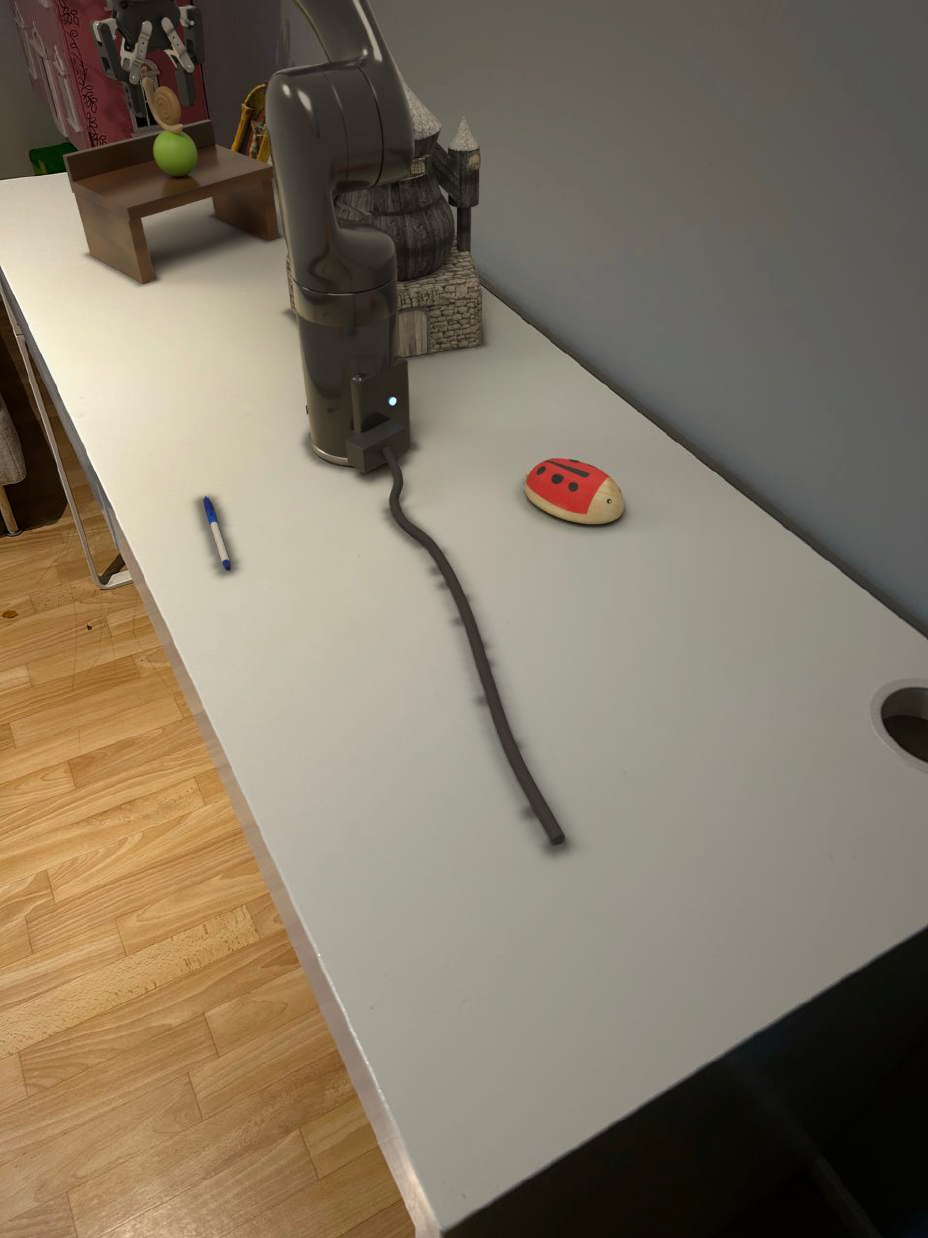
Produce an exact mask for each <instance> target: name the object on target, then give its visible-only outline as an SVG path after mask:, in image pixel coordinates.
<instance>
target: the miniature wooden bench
mask: <svg viewBox="0 0 928 1238" xmlns="http://www.w3.org/2000/svg"><path fill="white" fill-rule="evenodd" d="M182 125H183V129H182V132H184V133H185V134H187V135H188V136H189V137H190V138H191V139H192V141H193V142H194V144H195V146H196V149H197V163H196V166H195V167H194V169H193V170H192V171H191V172H190V173H189V174H187V175H185V176H180V177H176V176H172V175H169V174H167V173H165V172H164V171H163V170H162V169H161V168H160V167H159V166H158V164H157V162H156V160H155V158H154V153H153V147H154V142H155V140H156V138H157V137H158V136H159V134H161V133H162V132H164V131H166V130H164V129H163V130H159V131H155V132H154V131H153V132H151V133H147V134H143V135H139V136H135V137H131V138H130V137H129V138H127V139H122V140H118V141H114V142H110V143H106V144H102V145H98V146H94V147H90V148H85V149H81V150H77V151H74V152H70V153H65V154H62V159H63V162H64V166H65V170H66V174H67V178H68V182H69V186H70V189H71V193H72V194H74V198H75V201H76V205H77V209H78V213H79V216H80V220H81V224H82V228H83V232H84V235H85V239H86V243H87V245H88V250H89V254H90V256H92V257H93V258H96V259H97V260H99V261H100V262H102V263H104V264H106V265H108V266H110V267H112V268H113V269H115V270H117V271H119V272H121V273H122V274H124V275H126V276H128V277H130V278H132V279H134V280H135V281H137V282H139V283H141V284H142V285H143V284H146V283H150V282H152V281H155V279H156V278H155V274H154V269H153V265H152V261H151V257H150V251H149V246H148V243H147V238H146V233H145V229H144V223H143V221H142V219H144V218H146V217H149V216H153V215H156V214H159V213H163V212H166V211H170V210H173V209H176V208H180V207H183V206H186V205H190V204H193V203H196V202H200V201H203V200H206V199H210V198H211V200H212V205H213V211H214V216H215V217H216V218H219V219H221V220H223V221H225V222H226V223H227V222H228V223H229V224H232V225H234V226H236V227H238V228H241V229H243V230H245V231H247V232H249V233H252V234H254V235H255V236H259V237H261V238H263V239H265V240H267V241H272V240H275V239H278V238H280V232H279V224H278V214H277V207H276V201H275V200H276V199H275V192H274V183H273V180H275V177H274V172H273V166H272V164H268V163H267V164H266V163H263V162H261V161H258V160H256V159H253V158H250V157H248V156H245V155H243V154H240V153H237V152H235V151H232V150H231V148H230V149H229V148H227V147H224V146H222V145H219V144H216V138H215V133H214V125H213V120H211V119H205V120H204V119H203V120H200V121H199V120H198V121H196V122H193V123H192V122H191V123H188V124H182Z"/></svg>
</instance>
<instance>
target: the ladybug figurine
mask: <svg viewBox="0 0 928 1238" xmlns="http://www.w3.org/2000/svg"><path fill="white" fill-rule="evenodd" d="M525 479H526V480H525V482H524V493H525V495H526V496H527V498H528V500H529V501H530V502H531V503H532V504H534V505H535V506H536V507H538V508H539V509H540V510H541V511H544V512H546V513H547V514H550V515H552V516H554V517H556V518H559V519H561V520H565V521H567V522H572V523H577V524H584V525H602V524H608V523H610V522H613V521H616V520H617V519H619V518H620V517H621V516H622V515H623V513H624V510H625V499H624V496H623V493H622V490H621V488H620V486H619V485H618V483H617V482H616V481H615V480H614V479H613V478H612V477H611V476H610V475H609V474H608V473H606V472H605V471H603V470H601V468H598V467H596V466H594V465H591V464H589V463H586V462H583V461H580V460H577V459H571V458H563V457H562V458H558V457H556V458H554V457H553V458H552V457H551V458H548V459H545V460H543V461H541V462H539V463H538V464H536V465H535V466H534V467H533V468H532V469H531V470H526V473H525Z"/></svg>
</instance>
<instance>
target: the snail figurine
mask: <svg viewBox="0 0 928 1238" xmlns="http://www.w3.org/2000/svg"><path fill="white" fill-rule="evenodd" d="M147 71H148V67H147V66H145V65H144V66H142V67H141V71H140V76H141V86H142V88H143V89H144V92H145V97H146V101H147V103H148V107H149V109H150V112H151V114H152V117H153V118H154V121H155V122H156V123H157V124H158V125H159V126H160V127H161V128H162V129H163V130H166V131H164V132H162V133H161V134H159V136H158V137H157V138H156V140H155V142H154V147H153V153H154V158H155V160H156V162H157V164H158V166H159V167H160V168H161V169H162V170H163V171H164V172H165V173H167V174H169V175H172V176H176V177H180V176H185V175H187V174H189V173H190V172H191V171H192V170H193V169H194V167H195V166H196V163H197V149H196V146H195V144H194V142H193V141H192V139H191V138H190V137H189V136H188V135H187V134H185V133H184V132H182V129H183V125H184V124H182V123H180V120H181V118H182V117H181V116H182V108H181V105H180V104H181V103H180V100H179V99H178V97H177V95H176V93H175V92H174V91H173V90H172V89H171V88H169V87H168V86H164V85H162V86H159V87H158V88H156V90H154V82H153V80H152V79H151V78H150V77H148V76H147ZM143 72H144V75H145V77H143V75H142V73H143Z"/></svg>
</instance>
